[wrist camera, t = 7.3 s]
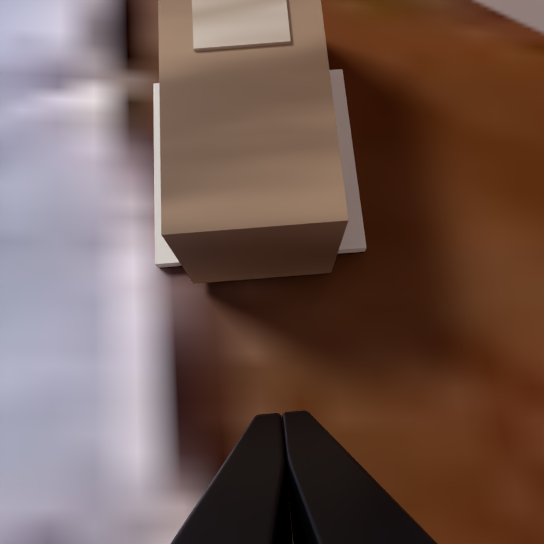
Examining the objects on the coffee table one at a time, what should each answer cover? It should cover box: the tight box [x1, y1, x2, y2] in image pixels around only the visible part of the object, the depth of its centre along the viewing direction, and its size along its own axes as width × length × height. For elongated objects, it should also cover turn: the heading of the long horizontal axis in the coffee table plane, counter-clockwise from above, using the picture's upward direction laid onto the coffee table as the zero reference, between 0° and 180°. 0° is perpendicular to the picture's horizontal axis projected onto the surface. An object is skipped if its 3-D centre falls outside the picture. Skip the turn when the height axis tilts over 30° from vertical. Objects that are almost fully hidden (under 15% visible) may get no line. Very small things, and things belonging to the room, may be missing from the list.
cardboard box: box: [158, 0, 348, 284], centre depth 16 cm, size 5×4×10 cm
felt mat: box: [153, 69, 366, 268], centre depth 18 cm, size 7×7×1 cm
